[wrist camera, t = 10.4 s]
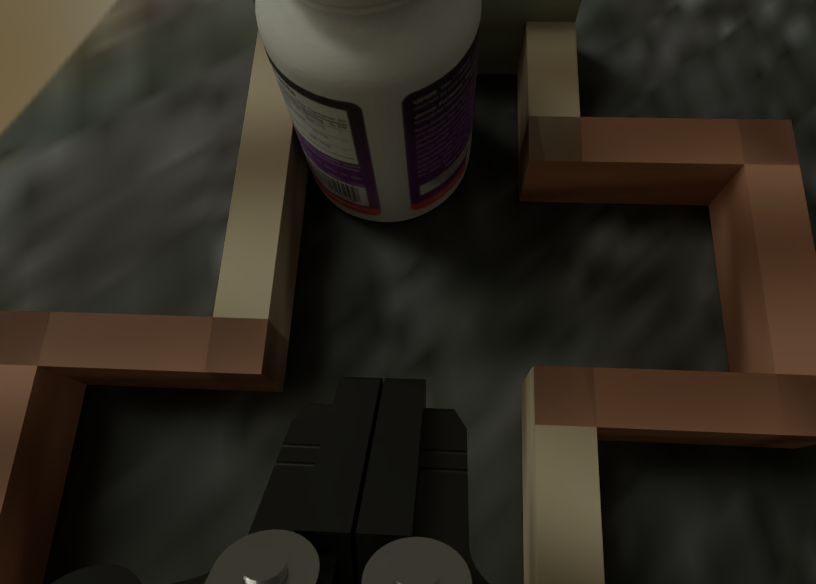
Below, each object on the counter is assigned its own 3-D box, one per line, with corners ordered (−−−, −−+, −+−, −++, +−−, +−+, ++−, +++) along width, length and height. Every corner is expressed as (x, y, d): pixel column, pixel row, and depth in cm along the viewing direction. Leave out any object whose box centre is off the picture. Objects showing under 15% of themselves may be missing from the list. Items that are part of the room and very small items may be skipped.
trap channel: (883, 1022, 14) (1056, 1218, 10) (-98, 933, 15) (-281, 1076, 11) (731, 41, 22) (791, -56, 18) (123, 37, 23) (64, -55, 20)
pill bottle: (453, 77, 22) (465, -231, 13) (483, 212, 20) (522, -37, 11) (301, 101, 22) (207, -191, 13) (318, 239, 20) (222, 11, 11)
